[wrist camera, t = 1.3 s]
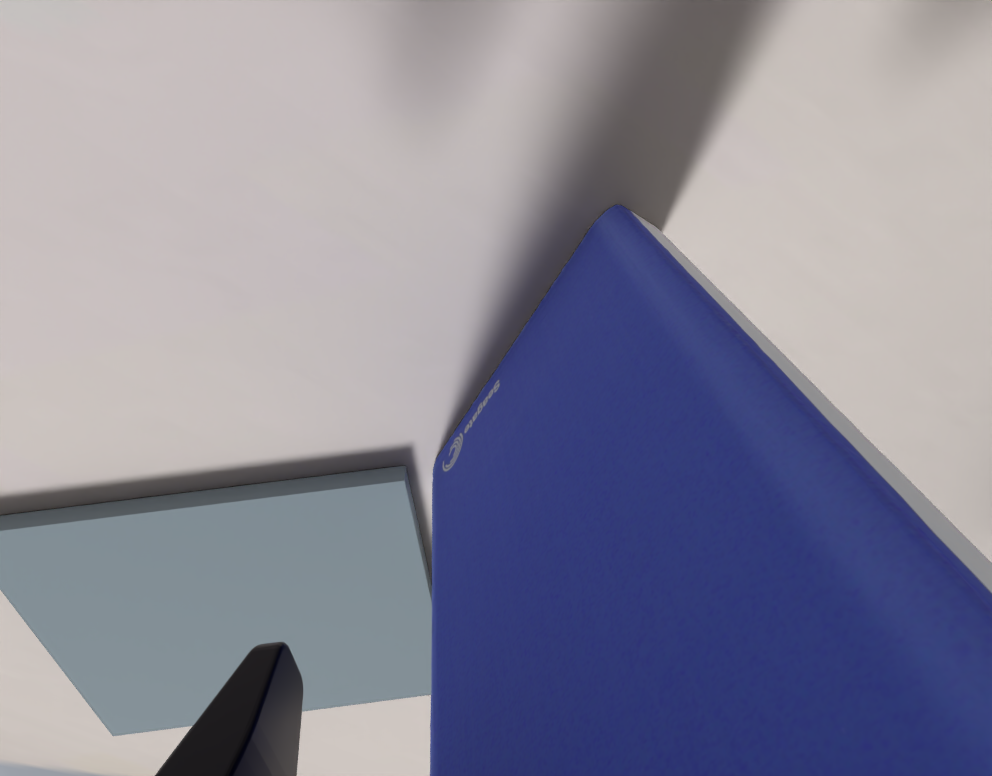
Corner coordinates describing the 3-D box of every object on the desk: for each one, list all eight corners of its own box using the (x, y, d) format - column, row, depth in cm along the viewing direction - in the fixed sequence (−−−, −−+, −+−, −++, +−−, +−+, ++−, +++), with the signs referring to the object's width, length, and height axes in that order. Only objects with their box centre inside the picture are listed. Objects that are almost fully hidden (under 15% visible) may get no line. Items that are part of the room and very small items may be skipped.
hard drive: (424, 472, 16) (399, 1346, 6) (608, 196, 13) (1422, 1096, 2) (477, 493, 17) (544, 1330, 6) (667, 233, 13) (1555, 1104, 3)
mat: (405, 465, 16) (404, 480, 15) (451, 675, 21) (451, 692, 20) (-26, 518, 16) (-41, 536, 15) (120, 718, 20) (112, 736, 20)
